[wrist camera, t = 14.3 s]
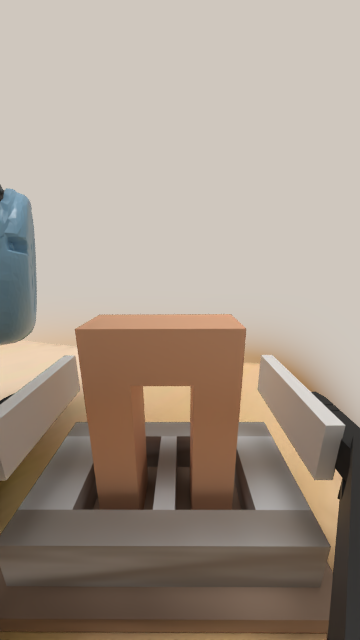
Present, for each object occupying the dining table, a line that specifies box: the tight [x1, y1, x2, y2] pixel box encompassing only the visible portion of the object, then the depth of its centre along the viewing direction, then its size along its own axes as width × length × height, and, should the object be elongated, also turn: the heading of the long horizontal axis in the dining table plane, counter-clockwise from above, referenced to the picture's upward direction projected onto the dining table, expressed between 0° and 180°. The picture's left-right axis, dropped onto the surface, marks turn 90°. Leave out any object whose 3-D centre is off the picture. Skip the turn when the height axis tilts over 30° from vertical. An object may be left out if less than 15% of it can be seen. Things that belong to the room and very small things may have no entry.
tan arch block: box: [75, 314, 246, 510], centre depth 13 cm, size 3×8×13 cm, turn 90°
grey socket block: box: [0, 422, 333, 633], centre depth 14 cm, size 10×18×4 cm, turn 90°
